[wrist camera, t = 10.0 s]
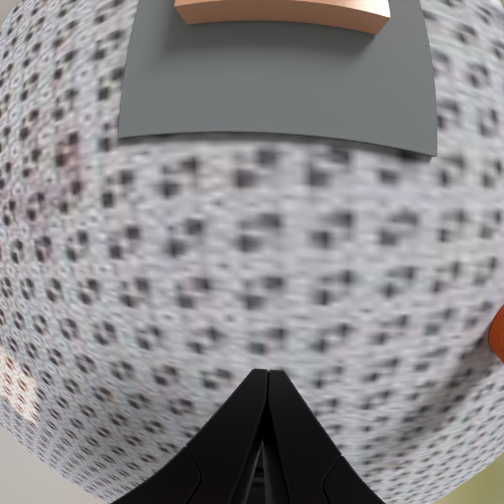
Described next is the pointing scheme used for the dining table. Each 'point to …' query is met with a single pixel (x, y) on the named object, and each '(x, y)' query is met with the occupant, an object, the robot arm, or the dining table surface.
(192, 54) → the mat
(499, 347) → the coffee cup
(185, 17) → the tile
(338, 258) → the dining table surface
